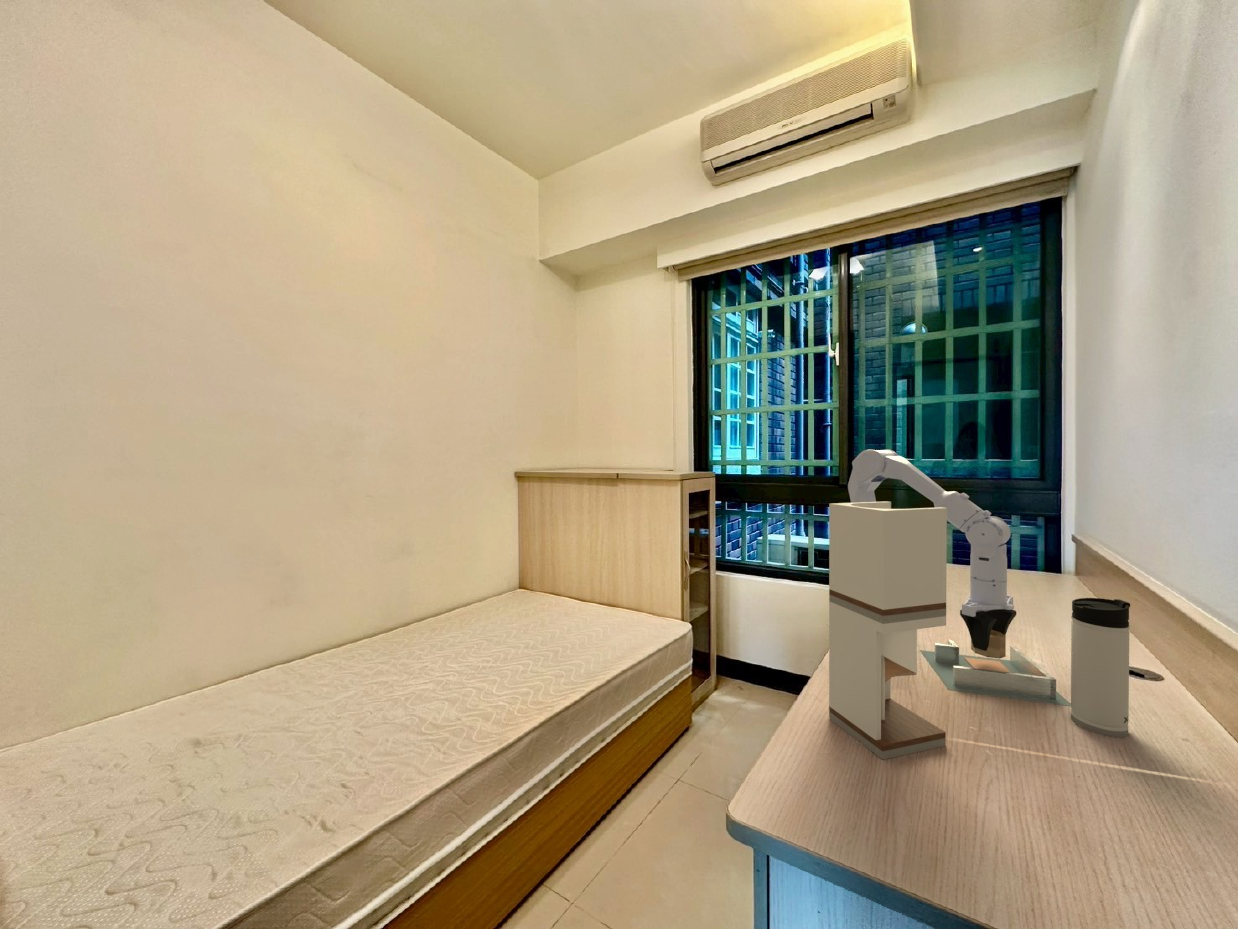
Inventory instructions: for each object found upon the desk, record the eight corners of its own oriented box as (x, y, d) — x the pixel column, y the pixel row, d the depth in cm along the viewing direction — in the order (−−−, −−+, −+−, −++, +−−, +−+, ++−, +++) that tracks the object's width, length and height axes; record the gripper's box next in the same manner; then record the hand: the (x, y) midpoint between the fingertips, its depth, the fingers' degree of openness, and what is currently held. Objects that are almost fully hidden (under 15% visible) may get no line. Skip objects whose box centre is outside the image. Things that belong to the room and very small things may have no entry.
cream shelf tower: (882, 759, 65) (883, 510, 64) (829, 718, 75) (829, 503, 74) (945, 745, 68) (946, 507, 67) (885, 708, 78) (886, 501, 77)
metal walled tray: (954, 686, 84) (954, 667, 84) (929, 653, 98) (929, 637, 98) (1056, 700, 80) (1056, 679, 80) (1014, 663, 94) (1014, 646, 94)
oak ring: (978, 656, 91) (978, 635, 91) (968, 646, 95) (968, 627, 95) (1009, 659, 89) (1009, 639, 89) (997, 649, 94) (997, 629, 94)
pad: (975, 671, 90) (975, 669, 90) (964, 658, 96) (964, 657, 96) (1013, 676, 88) (1013, 674, 88) (999, 662, 94) (999, 661, 94)
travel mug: (1143, 741, 68) (1145, 607, 68) (1090, 736, 70) (1092, 605, 69) (1108, 718, 74) (1109, 595, 74) (1060, 714, 76) (1061, 593, 76)
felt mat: (948, 691, 83) (948, 689, 83) (919, 651, 100) (919, 650, 100) (1074, 708, 77) (1074, 706, 77) (1021, 663, 94) (1021, 661, 94)
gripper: (991, 588, 85) (991, 661, 85) (1031, 578, 91) (1031, 646, 92) (950, 579, 91) (950, 647, 92) (990, 571, 98) (990, 634, 98)
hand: (987, 646), depth 92 cm, fingers closed on oak ring, 5 cm apart
